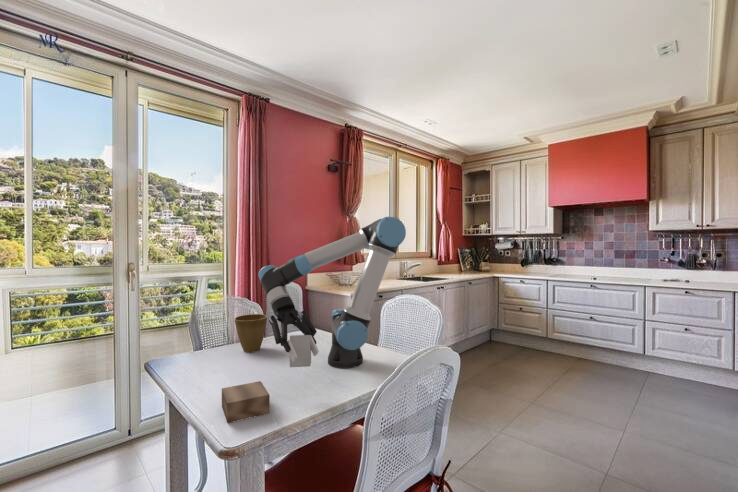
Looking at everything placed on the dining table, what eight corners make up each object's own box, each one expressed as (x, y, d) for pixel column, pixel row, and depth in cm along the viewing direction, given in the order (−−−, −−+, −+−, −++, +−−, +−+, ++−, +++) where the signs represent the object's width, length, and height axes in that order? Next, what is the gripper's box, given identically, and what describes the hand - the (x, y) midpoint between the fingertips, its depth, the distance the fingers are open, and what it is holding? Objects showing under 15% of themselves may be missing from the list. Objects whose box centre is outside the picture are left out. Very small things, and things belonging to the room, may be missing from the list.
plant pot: (254, 344, 182) (254, 312, 182) (273, 349, 173) (273, 316, 173) (228, 351, 170) (227, 317, 170) (247, 357, 161) (247, 321, 161)
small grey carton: (310, 366, 119) (309, 336, 119) (289, 367, 118) (289, 337, 118) (311, 362, 122) (310, 333, 122) (291, 363, 122) (290, 334, 122)
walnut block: (260, 399, 118) (260, 381, 118) (269, 414, 108) (269, 394, 108) (221, 407, 112) (221, 388, 112) (227, 424, 102) (227, 403, 102)
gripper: (301, 304, 138) (326, 355, 127) (250, 312, 124) (273, 370, 113) (308, 292, 134) (335, 343, 123) (257, 298, 120) (282, 357, 109)
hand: (306, 356), depth 118 cm, fingers closed on small grey carton, 8 cm apart
